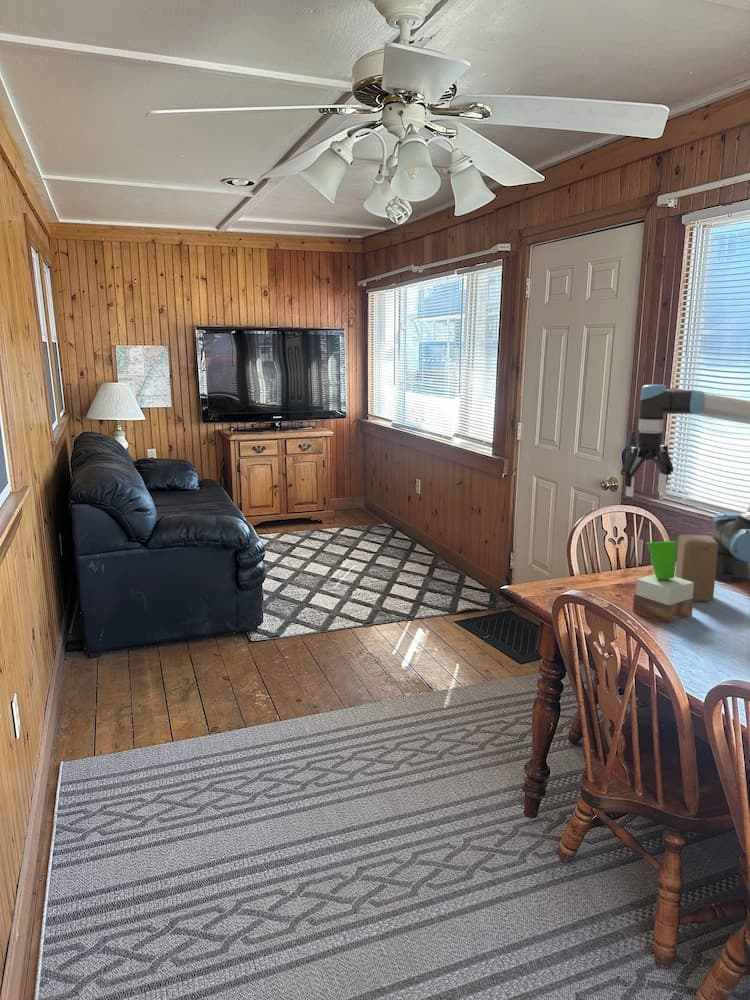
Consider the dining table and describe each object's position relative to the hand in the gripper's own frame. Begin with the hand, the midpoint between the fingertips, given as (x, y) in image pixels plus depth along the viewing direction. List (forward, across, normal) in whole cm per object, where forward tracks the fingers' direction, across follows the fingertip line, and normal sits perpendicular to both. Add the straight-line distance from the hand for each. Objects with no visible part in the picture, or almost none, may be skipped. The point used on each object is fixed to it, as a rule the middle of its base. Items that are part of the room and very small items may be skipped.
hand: (645, 494), depth 229 cm
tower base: (+32, +13, +25) cm, 43 cm away
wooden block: (+32, -7, +17) cm, 37 cm away
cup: (+20, +13, +25) cm, 35 cm away
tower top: (+26, +13, +25) cm, 39 cm away
